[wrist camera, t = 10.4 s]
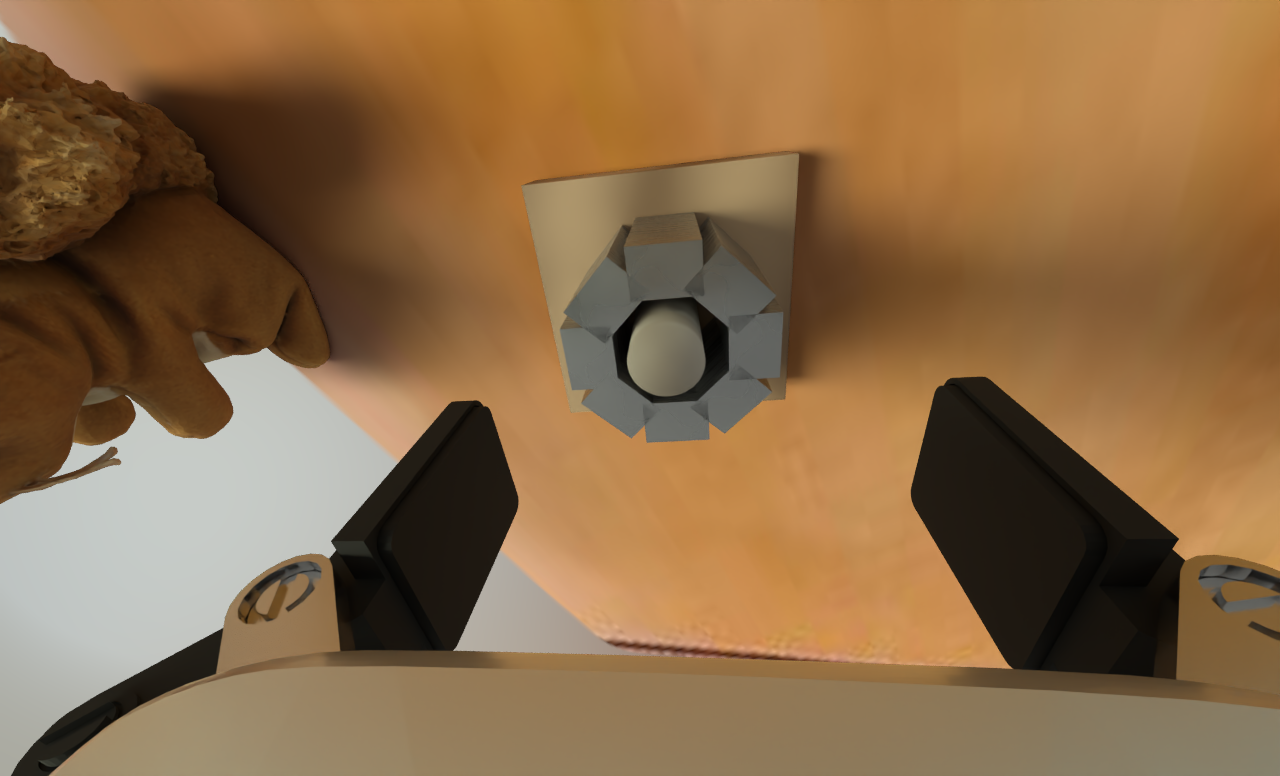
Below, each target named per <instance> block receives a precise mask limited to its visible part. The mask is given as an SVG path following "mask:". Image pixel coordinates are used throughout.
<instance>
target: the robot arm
mask: <svg viewBox="0 0 1280 776" xmlns="http://www.w3.org/2000/svg"><path fill="white" fill-rule="evenodd" d="M911 498H912V502H913V505H914V507H915V509H916V511H917V512H918V514H919V516H920V518H921V519H922V521H923V523H924V524H925V526H926V528H927V529H928V531H929V533H930V534H931V536H932V538H933V539H934V541H935V543H936V544H937V546H938V548H939V550H940V551H941V553H942V555H943V556H944V558H945V560H946V561H947V563H948V565H949V566H950V568H951V570H952V571H953V573H954V575H955V577H956V578H957V580H958V582H959V583H960V585H961V587H962V588H963V590H964V592H965V593H966V595H967V597H968V598H969V600H970V602H971V604H972V605H973V607H974V609H975V610H976V612H977V614H978V615H979V617H980V619H981V620H982V622H983V624H984V625H985V627H986V629H987V630H988V632H989V634H990V636H991V637H992V639H993V641H994V642H995V644H996V646H997V647H998V649H999V651H1000V652H1001V654H1002V656H1003V657H1004V659H1005V660H1006V662H1007V663H1008V665H1010V666H1011V667H1012V668H1013V669H1002V668H977V667H950V666H923V665H896V664H869V663H842V662H815V661H785V660H755V659H724V658H693V657H660V656H628V655H592V654H556V653H517V652H479V651H478V652H476V651H453V650H454V649H455V648H456V646H457V644H458V642H459V640H460V638H461V636H462V634H463V631H464V629H465V627H466V625H467V622H468V620H469V618H470V615H471V613H472V611H473V609H474V607H475V604H476V602H477V600H478V598H479V595H480V593H481V591H482V589H483V586H484V584H485V582H486V580H487V577H488V575H489V573H490V571H491V568H492V566H493V564H494V562H495V559H496V557H497V555H498V553H499V550H500V548H501V546H502V544H503V541H504V539H505V537H506V535H507V532H508V530H509V528H510V526H511V524H512V521H513V519H514V517H515V515H516V512H517V509H518V495H517V491H516V488H515V485H514V482H513V479H512V476H511V473H510V470H509V467H508V463H507V460H506V457H505V454H504V451H503V448H502V445H501V442H500V439H499V436H498V432H497V429H496V426H495V423H494V420H493V417H492V414H491V411H490V409H489V408H488V407H486V406H484V407H483V405H482V404H481V402H479V401H455V402H451V403H450V404H449V405H448V406H447V407H446V408H445V409H444V411H443V412H442V413H441V414H440V415H439V416H438V418H437V419H436V420H435V421H434V422H433V423H432V425H431V426H430V427H429V428H428V429H427V430H426V432H425V433H424V434H423V435H422V436H421V437H420V438H419V440H418V441H417V442H416V443H415V444H414V445H413V447H412V448H411V449H410V450H409V451H408V452H407V454H406V455H405V456H404V457H403V458H402V459H401V461H400V462H399V463H398V464H397V465H396V466H395V468H394V469H393V470H392V471H391V472H390V473H389V475H388V476H387V477H386V478H385V479H384V480H383V481H382V483H381V484H380V485H379V486H378V487H377V488H376V490H375V491H374V492H373V493H372V494H371V495H370V497H369V498H368V499H367V500H366V501H365V502H364V504H363V505H362V506H361V507H360V508H359V509H358V511H357V512H356V513H355V514H354V515H353V516H352V518H351V519H350V520H349V521H348V522H347V523H346V524H345V526H344V527H343V528H342V529H341V530H340V531H339V533H338V534H337V535H336V536H335V537H334V538H333V540H332V541H331V542H332V544H333V545H334V547H335V548H336V551H335V553H334V554H333V555H332V556H331V557H330V558H326V557H325V556H323V555H321V554H306V555H301V556H296V557H293V558H291V559H288V560H286V561H283V562H281V563H279V564H277V565H275V566H273V567H271V568H270V569H268V570H266V571H265V572H263V573H262V574H260V575H259V576H258V577H256V578H255V579H253V580H252V581H251V582H250V583H249V584H248V585H247V586H246V587H245V588H244V589H243V590H241V591H240V593H239V594H238V595H237V596H236V598H235V599H234V600H233V602H232V603H231V605H230V606H229V609H228V611H227V614H226V616H225V621H224V628H222V629H221V630H219V631H217V632H215V633H213V634H211V635H209V636H207V637H205V638H204V639H202V640H200V641H198V642H196V643H194V644H192V645H191V646H189V647H187V648H185V649H183V650H181V651H179V652H177V653H175V654H174V655H172V656H170V657H168V658H166V659H164V660H162V661H160V662H159V663H157V664H155V665H153V666H151V667H149V668H148V669H146V670H144V671H142V672H140V673H138V674H136V675H134V676H133V677H131V678H129V679H127V680H125V681H123V682H121V683H119V684H117V685H116V686H113V687H112V688H110V689H108V690H106V691H104V692H102V693H100V694H98V695H97V696H95V697H93V698H92V699H90V700H89V701H87V702H85V703H84V704H82V705H80V706H79V707H77V708H75V709H74V710H72V711H70V712H69V713H67V714H66V715H65V716H63V717H62V718H61V719H59V720H58V721H57V722H56V723H55V724H54V725H52V726H51V727H50V728H49V729H48V730H47V731H46V732H45V733H44V735H43V736H42V737H41V738H40V739H39V740H37V741H36V742H35V743H34V744H33V746H32V747H31V748H30V749H29V750H28V752H27V753H26V754H25V755H24V757H23V758H22V759H21V760H20V762H19V763H18V764H17V766H16V768H15V770H14V771H13V773H12V775H11V776H1280V571H1278V570H1275V569H1273V568H1270V567H1268V566H1265V565H1261V564H1258V563H1254V562H1251V561H1247V560H1243V559H1240V558H1234V557H1227V556H1220V555H1203V556H1195V557H1193V558H1191V559H1189V560H1187V561H1185V560H1184V559H1183V558H1182V557H1181V556H1179V555H1178V554H1177V553H1176V552H1175V551H1174V550H1173V547H1174V546H1175V544H1176V543H1177V541H1178V540H1179V538H1177V537H1176V536H1175V535H1174V534H1173V533H1171V532H1170V531H1169V530H1168V529H1167V528H1166V527H1164V526H1163V525H1162V524H1161V523H1160V522H1158V521H1157V520H1156V519H1155V518H1154V517H1152V516H1151V515H1150V514H1149V513H1148V512H1146V511H1145V510H1144V509H1143V508H1142V507H1141V506H1139V505H1138V504H1137V503H1136V502H1135V501H1133V500H1132V499H1131V498H1130V497H1129V496H1127V495H1126V494H1125V493H1124V492H1123V491H1122V490H1120V489H1119V488H1118V487H1117V486H1116V485H1114V484H1113V483H1112V482H1111V481H1110V480H1108V479H1107V478H1106V477H1105V476H1104V475H1103V474H1101V473H1100V472H1099V471H1098V470H1097V469H1095V468H1094V467H1093V466H1092V465H1091V464H1089V463H1088V462H1087V461H1086V460H1085V459H1083V458H1082V457H1081V456H1080V455H1079V454H1078V453H1076V452H1075V451H1074V450H1073V449H1072V448H1070V447H1069V446H1068V445H1067V444H1066V443H1064V442H1063V441H1062V440H1061V439H1060V438H1059V437H1057V436H1056V435H1055V434H1054V433H1053V432H1051V431H1050V430H1049V429H1048V428H1047V427H1045V426H1044V425H1043V424H1042V423H1041V422H1040V421H1038V420H1037V419H1036V418H1035V417H1034V416H1032V415H1031V414H1030V413H1029V412H1028V411H1026V410H1025V409H1024V408H1023V407H1022V406H1020V405H1019V404H1018V403H1017V402H1016V401H1015V400H1013V399H1012V398H1011V397H1010V396H1009V395H1007V394H1006V393H1005V392H1004V391H1003V390H1001V389H1000V388H999V387H998V386H997V385H996V384H994V383H993V382H992V381H991V380H990V379H988V378H986V377H964V378H950V379H949V380H947V382H946V383H945V385H944V386H939V387H938V388H937V389H936V391H935V394H934V398H933V402H932V406H931V410H930V414H929V418H928V422H927V426H926V430H925V434H924V438H923V443H922V447H921V451H920V455H919V459H918V463H917V467H916V471H915V475H914V479H913V483H912V487H911Z"/></svg>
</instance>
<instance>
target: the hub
mask: <svg viewBox="0 0 1280 776" xmlns="http://www.w3.org/2000/svg"><path fill="white" fill-rule="evenodd" d="M776 296H777V295H776V294H775V292H774V291H773V289H772V288H771V286H770V285H769V283H768V282H767V280H766V279H765V277H764V275H763V274H762V272H761V271H760V269H759V268H758V266H757V265H756V263H755V262H754V260H753V259H752V257H751V256H750V254H749V253H747V252H746V251H745V250H744V249H743V248H742V247H741V246H740V245H739V244H738V243H737V242H736V241H734V240H733V239H732V238H731V237H730V236H729V235H728V234H727V233H726V232H725V231H724V230H722V229H721V228H720V227H719V226H718V225H717V224H716V223H715V222H714V221H713V220H712V219H710V218H709V217H707V219H706V220H705V221H704V222H703V223H702V225H701V226H700V227H698V224H697V220H696V217H695V214H694V212H687V213H677V214H667V215H657V216H647V217H637V218H635V220H634V222H633V225H632V227H631V230H630V231H629V230H627V229H626V228H625V227H624V226H623V225H622V226H621V227H620V229H619V230H618V231H617V233H616V234H615V235H614V237H613V238H612V239H611V241H610V242H609V243H608V245H607V246H606V247H605V248H604V250H603V251H602V252H601V254H600V255H599V256H598V258H597V259H596V260H595V262H594V263H593V264H592V266H591V267H590V268H589V270H588V271H587V273H586V275H585V276H584V278H583V280H582V282H581V283H580V285H579V287H578V288H577V290H576V292H575V294H574V295H573V297H572V299H571V300H570V302H569V304H568V305H567V307H566V309H565V311H564V312H563V313H564V314H566V315H567V317H566V319H565V320H564V322H563V324H562V326H561V328H560V334H561V339H562V344H563V349H564V354H565V359H566V364H567V368H568V373H569V378H570V383H571V388H572V390H585V393H584V396H583V399H582V402H581V404H583V405H584V406H585V407H587V408H588V409H590V410H591V411H593V412H594V413H596V414H597V415H598V416H600V417H601V418H603V419H604V420H606V421H607V422H609V423H610V424H612V425H613V426H614V427H616V428H617V429H619V430H620V431H622V432H623V433H625V434H626V435H627V436H629V437H630V438H632V437H633V436H634V435H635V434H636V433H637V432H638V431H639V430H640V429H641V428H642V427H643V426H644V425H645V431H646V440H647V443H648V442H668V441H688V440H707V439H709V422H710V423H711V424H713V425H714V426H715V427H717V428H718V429H719V430H721V431H722V432H723V433H726V432H727V431H728V430H729V429H730V428H731V427H733V426H734V425H735V424H736V423H737V422H738V421H739V420H741V419H742V418H743V417H744V416H745V415H746V414H748V413H749V412H750V411H751V410H752V409H753V408H754V407H756V406H757V405H758V404H759V403H760V402H761V401H762V400H764V399H765V398H766V397H767V396H768V395H769V394H770V393H772V390H771V388H770V385H769V383H768V380H767V378H778V377H780V365H781V347H782V328H783V311H782V309H781V308H780V306H779V304H778V303H777V301H776V300H775V297H776ZM682 297H693V298H694V299H696V300H697V301H698V302H699V303H700V304H702V305H703V306H704V307H705V308H706V309H708V310H709V311H710V312H711V313H712V314H713V315H715V316H714V317H713V318H712V319H711V320H710V322H709V323H708V324H707V325H706V326H705V327H704V328H703V329H702V330H701V334H702V340H703V347H704V353H705V369H704V372H703V374H702V376H701V378H700V380H699V381H698V382H697V383H696V385H695V386H693V387H692V388H691V389H689V390H688V391H686V392H684V393H682V394H679V395H675V396H658V395H654V394H651V393H648V392H646V391H645V390H643V389H642V388H640V387H639V386H638V385H637V384H636V383H635V382H634V380H633V379H632V377H631V376H630V373H629V371H628V366H627V356H628V351H629V345H630V340H631V335H632V329H633V324H631V323H630V322H629V315H630V314H631V313H632V312H633V311H634V309H635V308H636V307H637V306H638V305H639V304H640V302H641V301H645V300H657V299H669V298H682Z"/></svg>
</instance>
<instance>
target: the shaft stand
mask: <svg viewBox="0 0 1280 776" xmlns="http://www.w3.org/2000/svg"><path fill="white" fill-rule="evenodd" d="M798 165H799V153H794V152H788V151H784V152H775V153H766V154H758V155H749V156H741V157H732V158H724V159H715V160H707V161H698V162H690V163H681V164H673V165H664V166H655V167H647V168H638V169H630V170H621V171H613V172H604V173H596V174H587V175H579V176H570V177H561V178H553V179H544V180H536V181H533V182H530V183H527V184H525V185H522V191H523V195H524V200H525V205H526V209H527V214H528V218H529V223H530V228H531V232H532V237H533V241H534V246H535V251H536V255H537V260H538V264H539V269H540V274H541V278H542V283H543V287H544V292H545V297H546V301H547V306H548V310H549V315H550V320H551V324H552V329H553V333H554V338H555V343H556V347H557V352H558V356H559V361H560V366H561V370H562V375H563V379H564V384H565V389H566V393H567V398H568V402H569V407H570V412H571V413H574V412H590V411H591V410H590V409H588V408H587V407H585V406H584V405H583V404H581V402H582V399H583V396H584V393H585V390H572V388H571V383H570V378H569V373H568V368H567V364H566V359H565V354H564V349H563V344H562V339H561V334H560V328H561V326H562V324H563V322H564V320H565V319H566V317H567V315H566V314H564V313H563V312H564V311H565V309H566V307H567V305H568V304H569V302H570V300H571V299H572V297H573V295H574V294H575V292H576V290H577V288H578V287H579V285H580V283H581V282H582V280H583V278H584V276H585V275H586V273H587V271H588V270H589V268H590V267H591V266H592V264H593V263H594V262H595V260H596V259H597V258H598V256H599V255H600V254H601V252H602V251H603V250H604V248H605V247H606V246H607V245H608V243H609V242H610V241H611V239H612V238H613V237H614V235H615V234H616V233H617V231H618V230H619V229H620V227H621V226H622V225H623V226H624V227H625V228H626V229H627V230H629V231H630V230H631V227H632V225H633V222H634V220H635V218H637V217H647V216H657V215H667V214H677V213H687V212H694V214H695V217H696V220H697V224H698V227H700V226H701V225H702V223H703V222H704V221H705V220H706V219H707V217H709V218H710V219H712V220H713V221H714V222H715V223H716V224H717V225H718V226H719V227H720V228H721V229H722V230H724V231H725V232H726V233H727V234H728V235H729V236H730V237H731V238H732V239H733V240H734V241H736V242H737V243H738V244H739V245H740V246H741V247H742V248H743V249H744V250H745V251H746V252H747V253H749V254H750V256H751V257H752V259H753V260H754V262H755V263H756V265H757V266H758V268H759V269H760V271H761V272H762V274H763V275H764V277H765V279H766V280H767V282H768V283H769V285H770V286H771V288H772V289H773V291H774V292H775V294H776V295H777V296H776V297H775V300H776V301H777V303H778V304H779V306H780V308H781V309H782V311H783V328H782V347H781V365H780V377H778V378H767V380H768V383H769V385H770V388H771V390H772V393H770V394H769V395H768V396H767V397H766V398H765V399H764V400H762V401H767V400H783V399H785V395H786V377H787V360H788V342H789V324H790V307H791V289H792V271H793V254H794V236H795V218H796V201H797V183H798ZM714 316H715V315H713V314H712V313H711V312H710V311H709V310H708V309H706V308H705V307H704V306H703V305H702V304H700V303H699V302H698V301H697V300H696V299H694V298H693V297H682V298H669V299H657V300H645V301H641V302H640V304H639V305H638V306H637V307H636V308H635V309H634V311H633V312H632V313H631V314H630V315H629V322H630V323H631V324H633V329H632V335H631V340H630V345H629V351H628V356H627V366H628V371H629V373H630V376H631V377H632V379H633V380H634V382H635V383H636V384H637V385H638V386H639V387H640V388H642V389H643V390H645V391H646V392H648V393H651V394H654V395H658V396H675V395H679V394H682V393H684V392H686V391H688V390H689V389H691V388H692V387H693V386H695V385H696V383H697V382H698V381H699V380H700V378H701V376H702V374H703V372H704V369H705V353H704V347H703V340H702V334H701V330H702V329H703V328H704V327H705V326H706V325H707V324H708V323H709V322H710V320H711V319H712V318H713V317H714Z"/></svg>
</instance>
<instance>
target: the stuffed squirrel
mask: <svg viewBox="0 0 1280 776" xmlns="http://www.w3.org/2000/svg"><path fill="white" fill-rule="evenodd" d="M204 159H205V156H204V155H202V154H200V153H197V152H196V146H195V144H194V139H192V138H190V137H189V136H188V135H187V134H186V133H185V132H184V131H183V130H181V129H180V128H177V127H175V126H174V124H173V123H172V122H171V121H170V120H169V119H168V118H167V117H166V116H165V115H164V114H163V112H162V111H161V110H159V109H157V108H156V107H154V106H152V105H149V104H146V103H144V102H142V103H136V102H134V101H132V100H130V99H128V97H127V96H126V95H125V94H124V93H123V92H115V91H111V90H110V88H109V87H108V86H107V85H106V84H105V83H104V82H102V81H99V80H95V81H94V83H92V84H87V83H83V82H81V81H79V80H75V79H73V78H70V76H69V75H68V74H67V73H66V72H65V71H64V70H63V69H61V68H58V67H56V66H55V65H54V64H53V63H52V61H51V60H50V58H49V57H48V56H47V55H46V54H45V53H43V52H37V51H36V50H34V49H31V48H29V47H28V46H26V45H21V44H17V43H11V42H8V41H7V40H6V39H5V38H4V37H0V504H1V503H3V502H5V501H7V500H9V499H11V498H12V497H14V496H17V495H18V494H20V493H27V492H31V491H37V490H43V489H46V488H48V487H51V486H53V485H55V484H58V483H63V482H65V481H68V480H72V479H76V478H78V477H81V476H83V475H86V474H89V473H92V472H94V471H97V470H100V469H102V468H105V467H108V466H112V465H120V464H121V461H120V460H119V459H115V458H113V459H110V458H112V457H113V456H114V455H115V454H117V452H118V451H117V448H115V447H110V448H109V449H108V450H107V452H106V453H105V454H103V455H102V456H101V457H99V458H98V459H96V460H94V461H93V462H91V463H90V464H88V465H86V466H85V467H83V468H81V469H79V470H76V471H74V472H71V473H68V474H64V475H61V476H58V477H53V478H49V477H51V476H52V475H54V474H55V473H56V472H58V471H59V470H60V469H61V467H62V465H63V463H64V462H65V461H66V459H67V457H68V455H69V453H70V450H71V447H72V443H73V442H75V443H79V444H84V445H90V446H92V445H100V444H103V443H105V442H108V441H110V440H112V439H115V438H117V437H118V436H120V435H123V434H124V433H126V432H127V430H128V429H129V428H130V426H131V424H132V423H133V421H134V419H135V416H136V413H135V410H134V406H133V404H132V402H131V400H130V399H129V398H128V397H126V396H125V395H127V396H129V397H130V398H131V399H132V400H133V401H135V402H136V403H137V404H139V405H140V406H141V407H143V408H144V409H145V410H146V411H147V412H148V413H149V414H150V415H151V416H152V417H153V418H154V419H155V420H156V421H157V422H159V423H160V424H161V425H162V426H163V427H164V428H166V430H167V431H168V432H169V433H171V434H173V435H175V436H180V437H183V438H199V439H204V438H208V437H210V436H213V435H214V434H216V433H217V432H218V431H220V430H221V429H222V428H224V426H225V425H226V424H227V423H228V422H229V421H230V419H231V417H232V415H233V406H232V403H231V401H230V398H229V396H228V395H227V393H226V392H225V390H224V389H223V388H222V387H221V385H220V384H219V383H218V382H217V380H216V379H215V377H214V376H213V375H212V374H211V373H210V372H209V371H208V369H207V368H206V366H205V365H204V363H207V362H210V361H214V360H218V359H221V358H225V357H229V356H232V355H248V354H253V353H257V352H259V351H261V350H262V349H264V348H268V349H269V350H270V351H271V352H272V353H274V354H275V355H277V356H278V357H279V358H281V359H283V360H284V361H286V362H289V363H291V364H293V365H296V366H300V367H304V368H317V367H319V366H320V365H322V364H324V363H325V362H326V361H327V360H328V358H329V357H330V349H329V343H328V338H327V334H326V331H325V329H324V326H323V323H322V321H321V319H320V316H319V313H318V310H317V307H316V305H315V303H314V300H313V298H312V295H311V292H310V290H309V288H308V286H307V284H306V282H305V280H304V278H303V277H302V276H301V274H300V273H299V272H298V271H297V270H296V269H295V268H294V267H293V266H292V265H291V264H290V263H289V262H288V261H287V260H286V259H285V258H284V257H283V256H282V255H281V254H279V253H278V252H277V251H276V250H275V249H274V248H272V247H271V246H270V245H269V244H268V243H266V242H265V241H264V240H262V239H261V238H260V237H259V236H257V235H256V234H255V233H254V232H252V231H251V230H250V229H249V228H247V227H246V226H245V225H243V224H242V223H241V222H239V221H238V220H236V219H235V218H234V217H232V216H231V215H230V214H229V213H227V212H226V211H225V210H224V209H223V208H221V207H220V206H219V205H217V204H216V202H217V201H218V198H217V195H218V194H217V190H216V187H215V186H214V176H215V175H214V174H213V172H212V171H210V170H209V169H207V168H206V166H205V165H206V163H205V161H204ZM109 459H110V460H109Z"/></svg>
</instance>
